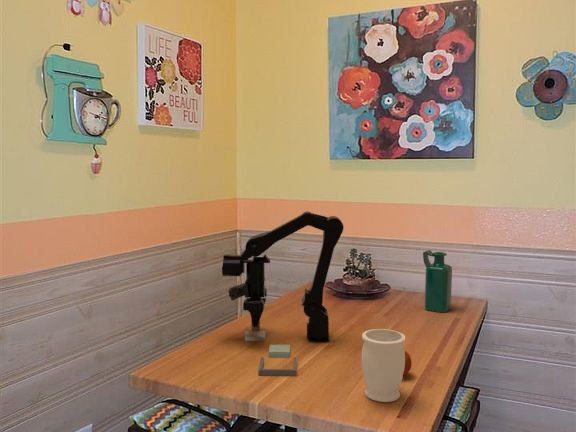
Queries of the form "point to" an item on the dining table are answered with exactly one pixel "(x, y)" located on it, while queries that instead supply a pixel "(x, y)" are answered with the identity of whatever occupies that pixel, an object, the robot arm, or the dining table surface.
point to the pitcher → (437, 283)
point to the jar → (383, 363)
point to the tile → (279, 351)
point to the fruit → (407, 363)
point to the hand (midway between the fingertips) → (255, 324)
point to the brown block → (255, 334)
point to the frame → (277, 370)
